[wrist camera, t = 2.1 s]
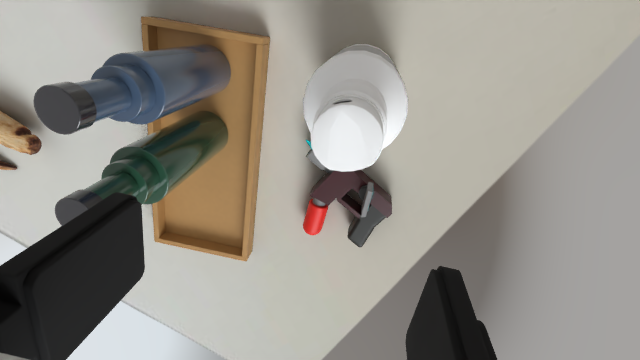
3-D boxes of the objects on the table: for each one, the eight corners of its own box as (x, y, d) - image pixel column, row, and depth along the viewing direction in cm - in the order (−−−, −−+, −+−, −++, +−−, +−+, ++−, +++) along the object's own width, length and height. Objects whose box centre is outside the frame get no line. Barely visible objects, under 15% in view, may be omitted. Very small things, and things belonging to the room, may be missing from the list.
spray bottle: (394, 36, 31) (416, 49, 14) (401, 113, 33) (427, 198, 17) (318, 51, 32) (259, 78, 16) (330, 123, 34) (291, 212, 18)
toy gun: (318, 123, 35) (309, 138, 30) (405, 199, 37) (408, 223, 32) (261, 187, 38) (247, 208, 34) (343, 253, 40) (339, 280, 36)
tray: (154, 16, 33) (140, 16, 31) (270, 36, 32) (263, 37, 30) (164, 232, 43) (154, 241, 41) (252, 251, 42) (246, 261, 40)
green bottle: (185, 106, 35) (30, 173, 19) (229, 114, 35) (108, 190, 19) (186, 149, 37) (45, 242, 21) (227, 157, 37) (116, 258, 21)
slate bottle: (184, 40, 33) (3, 55, 17) (232, 48, 32) (93, 71, 16) (185, 89, 35) (23, 145, 19) (230, 97, 34) (104, 161, 18)
